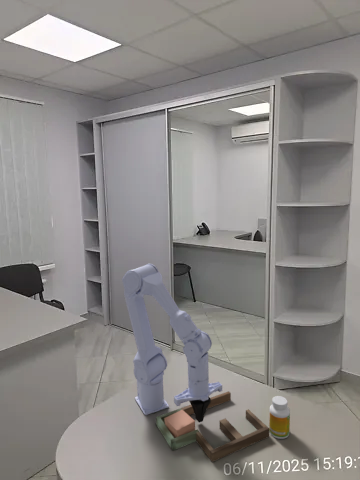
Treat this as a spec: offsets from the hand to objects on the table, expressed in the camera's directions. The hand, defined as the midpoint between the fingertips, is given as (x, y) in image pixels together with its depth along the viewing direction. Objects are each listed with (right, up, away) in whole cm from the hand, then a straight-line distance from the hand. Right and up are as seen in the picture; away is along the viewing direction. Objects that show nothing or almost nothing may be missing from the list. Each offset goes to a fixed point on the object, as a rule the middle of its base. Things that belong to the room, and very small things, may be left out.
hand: (199, 419), depth 100 cm
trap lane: (+3, -2, -3) cm, 4 cm away
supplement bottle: (+22, -2, -4) cm, 22 cm away
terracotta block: (-5, -2, -3) cm, 7 cm away
